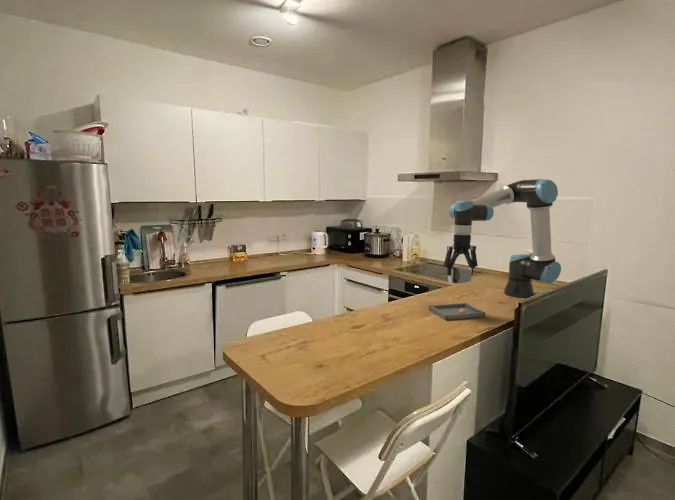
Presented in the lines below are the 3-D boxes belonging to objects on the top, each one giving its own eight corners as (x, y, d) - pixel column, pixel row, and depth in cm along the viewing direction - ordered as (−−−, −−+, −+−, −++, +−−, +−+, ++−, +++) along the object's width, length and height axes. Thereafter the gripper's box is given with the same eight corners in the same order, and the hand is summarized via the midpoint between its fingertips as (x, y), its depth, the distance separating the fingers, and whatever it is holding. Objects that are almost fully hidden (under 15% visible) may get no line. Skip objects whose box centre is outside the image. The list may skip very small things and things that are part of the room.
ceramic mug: (472, 283, 173) (473, 267, 172) (459, 285, 169) (460, 268, 168) (455, 279, 183) (456, 263, 182) (443, 280, 179) (443, 265, 178)
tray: (465, 307, 187) (465, 302, 186) (485, 317, 171) (485, 312, 171) (429, 309, 182) (429, 305, 182) (445, 320, 167) (446, 315, 166)
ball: (463, 307, 173) (457, 308, 173) (467, 309, 170) (461, 310, 169) (463, 313, 174) (457, 314, 173) (467, 316, 171) (461, 317, 170)
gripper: (478, 232, 178) (475, 279, 181) (437, 233, 173) (434, 280, 176) (488, 234, 171) (484, 282, 174) (445, 235, 165) (442, 284, 169)
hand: (459, 281), depth 175 cm, fingers closed on ceramic mug, 9 cm apart
